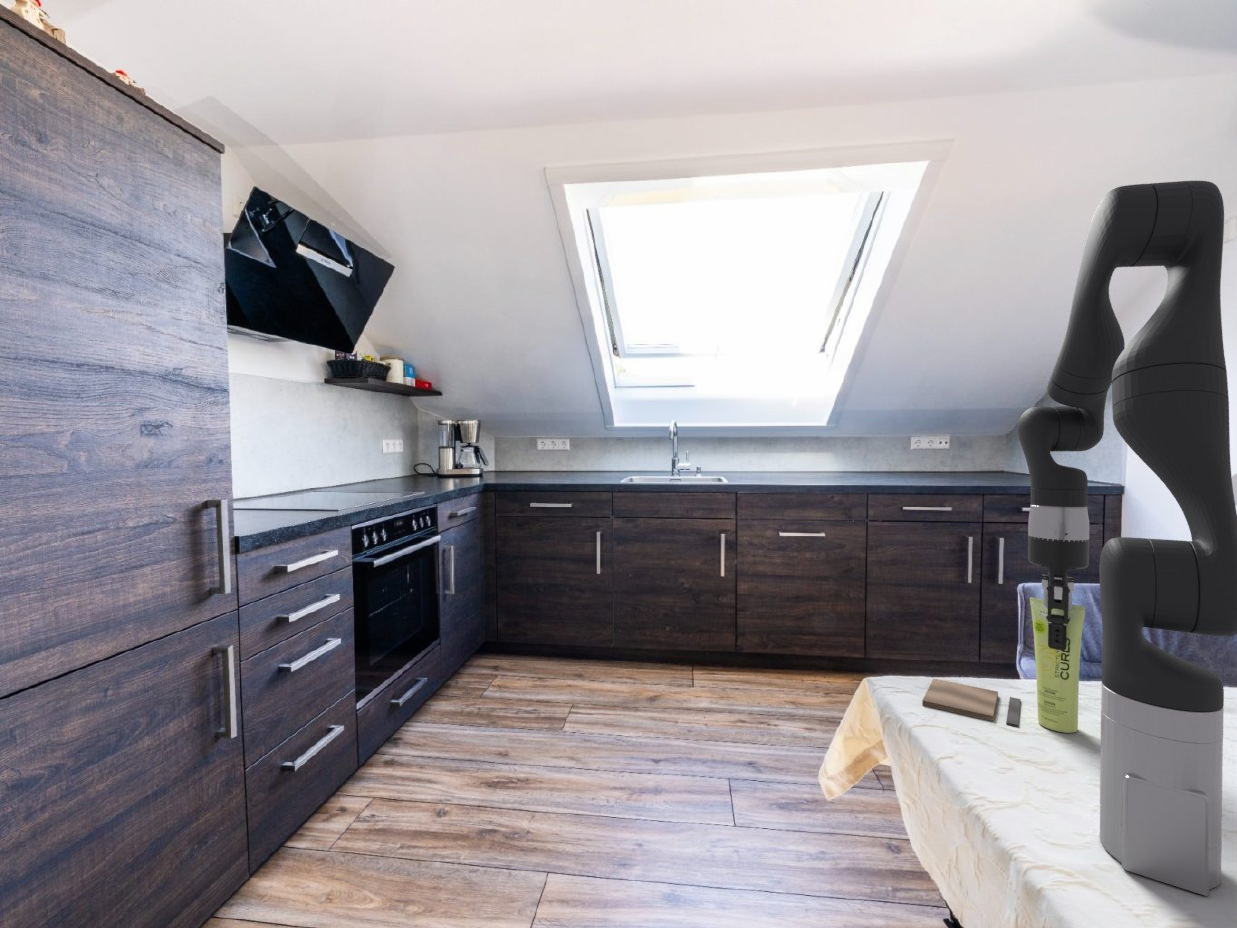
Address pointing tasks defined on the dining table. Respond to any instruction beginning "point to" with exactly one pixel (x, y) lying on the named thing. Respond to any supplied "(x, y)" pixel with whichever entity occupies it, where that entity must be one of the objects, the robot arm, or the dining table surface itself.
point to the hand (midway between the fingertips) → (1056, 643)
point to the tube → (1057, 669)
